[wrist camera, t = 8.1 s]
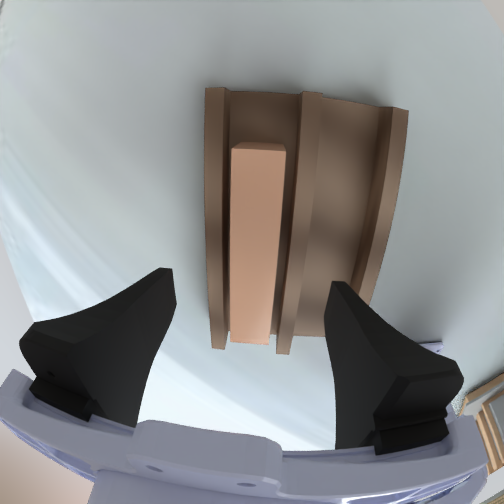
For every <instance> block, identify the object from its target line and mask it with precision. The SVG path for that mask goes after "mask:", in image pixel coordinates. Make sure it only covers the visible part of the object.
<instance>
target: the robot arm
mask: <svg viewBox="0 0 504 504" xmlns="http://www.w3.org/2000/svg"><path fill="white" fill-rule="evenodd" d="M176 305H177V303H176V296H175V288H174V280H173V272H172V269H170V268H158V269H156V270H155V271H153V272H151V273H150V274H148V275H147V276H145V277H144V278H142V279H141V280H139V281H137V282H136V283H134V284H133V285H131V286H130V287H128V288H126V289H125V290H123V291H121V292H120V293H118V294H116V295H115V296H113V297H111V298H109V299H107V300H105V301H103V302H101V303H99V304H97V305H95V306H92V307H90V308H87V309H85V310H82V311H79V312H77V313H74V314H70V315H67V316H63V317H60V318H56V319H51V320H45V321H40V322H34V323H33V324H32V326H31V327H30V328H29V329H28V331H27V332H26V333H25V334H24V335H23V337H22V338H21V339H20V341H19V346H20V350H21V352H22V354H23V356H24V358H25V359H26V361H27V362H28V364H29V365H30V367H31V369H32V370H33V372H34V373H35V375H36V376H37V377H36V378H35V380H34V381H33V380H31V379H30V378H29V377H28V376H26V375H24V374H22V373H21V372H19V371H17V370H15V369H13V370H12V371H11V372H10V374H9V375H8V377H7V378H6V379H5V381H4V382H3V384H2V385H1V387H0V420H1V422H2V423H3V424H5V425H6V426H7V427H8V428H9V429H10V430H11V431H12V432H13V433H14V434H15V435H16V436H17V437H18V438H20V439H21V440H23V441H24V442H25V443H27V444H28V445H30V446H31V447H33V448H34V449H36V450H37V451H39V452H41V453H42V454H44V455H45V456H47V457H48V458H50V459H52V460H53V461H55V462H57V463H58V464H60V465H62V466H64V467H65V468H67V469H69V470H71V471H72V472H74V473H76V474H78V475H80V476H82V477H84V478H86V479H88V480H90V481H92V482H94V486H93V489H92V492H91V495H90V498H89V500H88V503H87V504H471V503H472V502H473V500H474V499H475V498H476V497H477V495H478V494H479V493H480V492H481V490H482V489H483V487H484V486H485V484H486V482H487V477H488V470H487V466H486V464H487V463H488V462H489V460H488V457H487V453H486V450H485V447H484V444H483V441H482V438H481V435H480V433H479V430H478V427H477V425H476V422H475V419H474V417H473V415H469V416H468V415H464V414H462V415H460V416H459V417H457V416H456V414H455V412H454V409H453V407H452V404H451V401H452V400H453V399H454V397H455V396H456V395H457V394H458V392H459V391H460V389H461V388H462V385H463V382H464V377H463V375H462V373H461V371H460V369H459V367H458V365H457V363H456V361H454V360H452V359H449V358H447V357H444V356H442V355H439V354H440V352H441V350H442V349H443V347H444V344H443V343H442V342H438V343H426V344H417V343H415V342H414V341H412V340H411V339H409V338H407V337H406V336H404V335H403V334H401V333H400V332H399V331H397V330H396V329H395V328H393V327H392V326H391V325H389V324H388V323H387V322H386V321H384V320H383V319H382V318H381V317H380V316H379V315H378V314H377V313H376V312H374V311H373V310H372V309H371V308H370V307H369V306H368V305H367V304H366V303H365V302H364V301H363V300H362V299H361V298H360V296H359V295H358V294H357V293H356V292H355V291H354V290H353V289H352V288H351V287H350V286H349V285H348V284H347V283H346V282H345V281H332V282H331V287H330V291H329V296H328V300H327V304H326V308H325V312H324V329H325V337H326V342H327V347H328V351H329V356H330V361H331V366H332V371H333V376H334V384H335V400H336V443H335V450H321V451H282V448H281V446H280V445H279V444H278V443H277V442H274V441H272V440H270V439H268V438H266V437H260V436H254V435H249V434H239V433H230V432H221V431H214V430H207V429H201V428H195V427H189V426H184V425H179V424H174V423H169V422H165V421H156V420H146V421H143V422H140V423H137V421H138V415H139V411H140V406H141V401H142V397H143V393H144V389H145V386H146V382H147V379H148V375H149V372H150V369H151V366H152V363H153V360H154V358H155V356H156V354H157V351H158V349H159V347H160V345H161V343H162V341H163V339H164V337H165V334H166V332H167V330H168V328H169V326H170V324H171V321H172V318H173V315H174V312H175V308H176ZM468 476H469V477H468ZM467 477H468V478H467ZM465 478H467V479H466V480H464V481H463V482H461V483H459V482H460V481H462V480H463V479H465ZM457 483H459V484H457ZM455 484H457V485H455ZM454 485H455V486H454ZM452 486H453V487H452ZM449 487H451V488H449ZM447 488H449V489H447ZM444 489H447V490H445V491H442V490H444ZM439 491H442V492H440V493H438V494H436V495H434V496H431V497H429V498H427V499H424V500H422V501H417V502H413V501H415V500H418V499H420V498H423V497H426V496H428V495H431V494H434V493H437V492H439Z"/></svg>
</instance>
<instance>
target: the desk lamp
mask: <svg viewBox="0 0 504 504" xmlns="http://www.w3.org/2000/svg"><path fill="white" fill-rule="evenodd" d="M462 414H464V415H468V416H469V415H473V417H474V419H475V422H476V425H477V427H478V430H479V433H480V435H481V438H482V441H483V444H484V447H485V450H486V453H487V457H488V460H489V462H488V463H487V464H486V466H487V470H488V475H490V474H491V473H493V472H495V471H496V470H498V469H499V468H501V467H503V466H504V373H503V374H501V375H500V376H498V377H496V378H495V379H493V380H492V381H490V382H488V383H487V384H485V385H483V386H482V387H480V388H478V389H477V390H475V391H473V392H471V393H469V394H468V395H466V397H465V400H464V403H463V406H462V409H461V412H460V415H462ZM460 415H459V416H460ZM480 504H504V490H502V491H500V492H499V493H497V494H495V495H494V496H492V497H491V498H489V499H487V500H485V501H484V502H482V503H480Z"/></svg>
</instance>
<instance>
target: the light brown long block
mask: <svg viewBox="0 0 504 504" xmlns="http://www.w3.org/2000/svg"><path fill="white" fill-rule="evenodd" d="M285 160H286V150H285V147H284V145H283V144H276V143H260V142H240V143H239V144H237V145H236V146H235V147H233V148H232V149H231V198H230V342H238V343H250V344H263V345H269V336H270V327H271V318H272V308H273V299H274V289H275V279H276V269H277V258H278V248H279V236H280V225H281V213H282V201H283V188H284V174H285Z"/></svg>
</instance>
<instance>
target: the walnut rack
mask: <svg viewBox="0 0 504 504" xmlns="http://www.w3.org/2000/svg"><path fill="white" fill-rule="evenodd" d="M408 113H409V111H408V110H404V109H400V108H396V107H376V106H371V105H366V104H361V103H356V102H350V101H344V100H338V99H331V98H324V97H322V93H316V92H308V91H302V92H301V93H300V94H299V95H298V94H287V93H272V92H248V91H229V90H228V89H226V88H225V87H221V88H205V123H204V201H205V239H206V264H207V284H208V301H209V317H210V331H211V343H212V348H214V349H222V350H225V345H226V340H227V336H228V331H230V198H231V149H232V148H233V147H235V146H236V145H237V144H239V143H240V142H260V143H276V144H283V145H284V147H285V150H286V160H285V174H284V188H283V201H282V213H281V225H280V236H279V248H278V258H277V269H276V279H275V289H274V299H273V308H272V318H271V327H270V334H274V335H277V339H276V354H287V355H289V353H290V348H291V342H292V337H293V336H318V337H325V329H324V312H325V308H326V304H327V300H328V296H329V291H330V287H331V282H332V281H345V282H346V283H347V284H348V285H349V286H350V287H351V288H352V289H353V290H354V291H355V292H356V293H357V294H358V295H359V296H360V298H361V299H362V300H363V301H364V302H365V303H366V304H367V305H368V306H369V304H370V300H371V297H372V294H373V291H374V288H375V285H376V281H377V278H378V275H379V271H380V268H381V264H382V260H383V257H384V253H385V249H386V245H387V241H388V237H389V233H390V229H391V224H392V220H393V215H394V210H395V206H396V201H397V195H398V190H399V184H400V178H401V172H402V166H403V159H404V151H405V143H406V135H407V125H408Z"/></svg>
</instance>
